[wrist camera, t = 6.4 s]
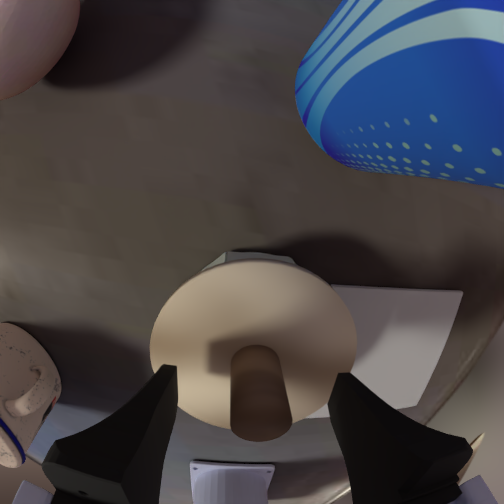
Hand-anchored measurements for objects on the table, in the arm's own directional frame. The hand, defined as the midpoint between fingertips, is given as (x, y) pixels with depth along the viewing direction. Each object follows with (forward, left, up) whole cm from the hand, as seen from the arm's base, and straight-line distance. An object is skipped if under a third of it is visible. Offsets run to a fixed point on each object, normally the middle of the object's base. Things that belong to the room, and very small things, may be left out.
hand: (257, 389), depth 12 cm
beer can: (+14, -5, -7) cm, 16 cm away
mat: (-3, -10, -7) cm, 13 cm away
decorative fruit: (+17, +15, -7) cm, 24 cm away
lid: (0, 0, -3) cm, 3 cm away
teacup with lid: (-7, +18, -7) cm, 20 cm away
